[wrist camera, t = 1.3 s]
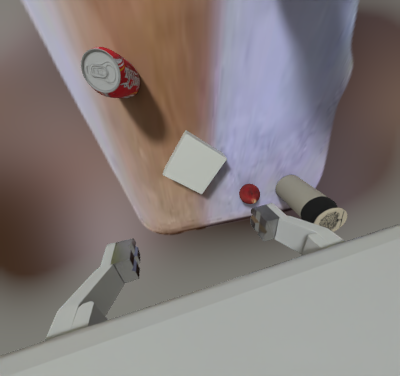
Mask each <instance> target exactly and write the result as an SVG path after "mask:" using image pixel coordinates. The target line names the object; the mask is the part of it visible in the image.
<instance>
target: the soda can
mask: <svg viewBox="0 0 400 376" xmlns="http://www.w3.org/2000/svg"><path fill="white" fill-rule="evenodd" d="M81 69H82V73H83V76H84V78H85V79H86V81H87V82H88V84H89V85H90V86H91V87H92V88H93V89H94V90H95V91H97V92H98V93H100V94H101V95H104V96H107V97H112V98H129V97H132V96H134V95H135V94H136V93H137V92H138V90H139V88H140V78H139V75H138V73H137V71H136V69H135V68H134V67H133V65H132V64H131V63H129V62H128V61H127V60H126V59H124V58H123V57H121V56H120V55H118V54H117V53H115V52H114V51H112V50H110V49H107V48H104V47H95V48H92V49H90V50H88V51H87V52H85V54H84V55H83V57H82V60H81Z"/></svg>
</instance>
